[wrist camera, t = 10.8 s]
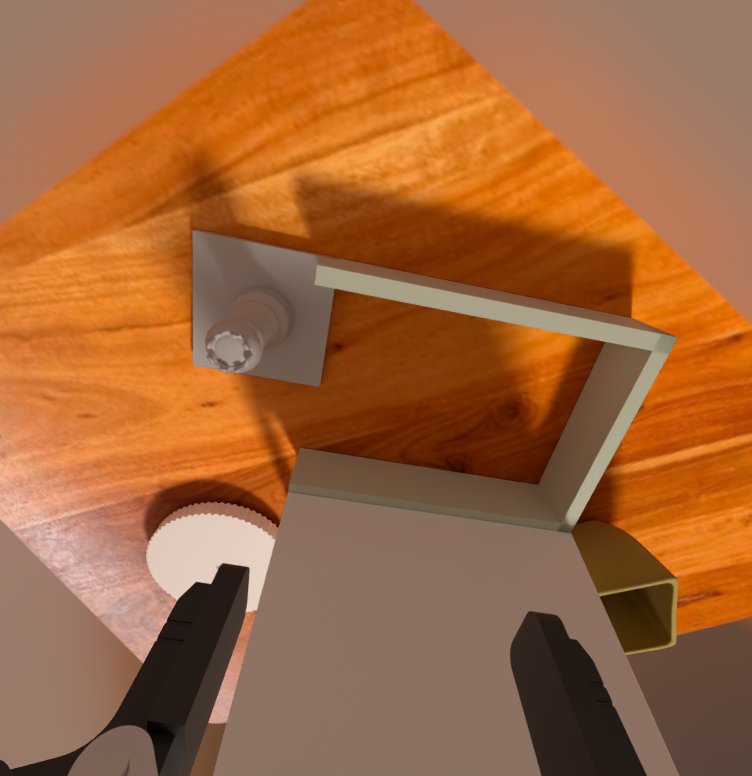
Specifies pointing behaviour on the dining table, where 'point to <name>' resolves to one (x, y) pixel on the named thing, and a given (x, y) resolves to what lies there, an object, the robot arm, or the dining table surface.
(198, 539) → the plastic lid
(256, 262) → the slate tile
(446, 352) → the dining table surface
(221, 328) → the rook chess piece
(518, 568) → the lid propped
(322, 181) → the dining table surface
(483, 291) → the frame
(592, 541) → the flower pot
